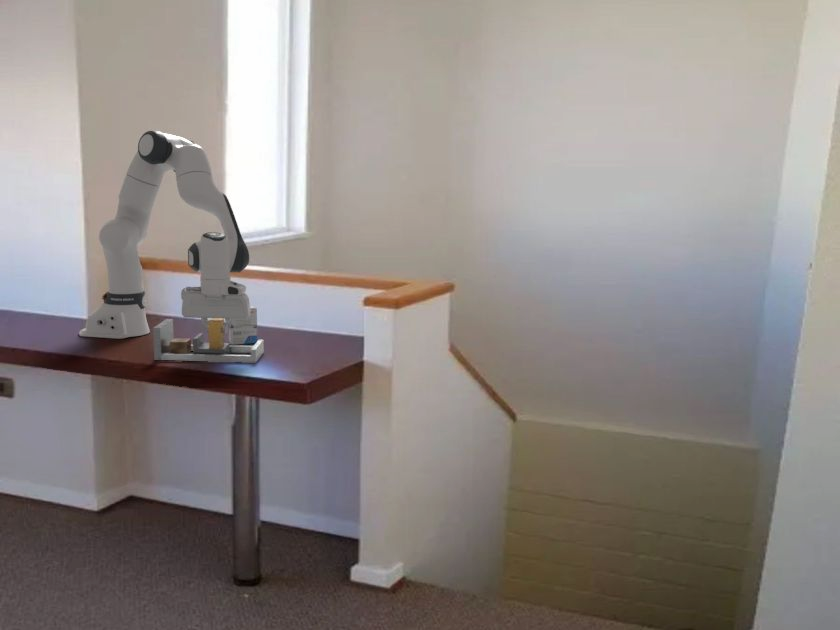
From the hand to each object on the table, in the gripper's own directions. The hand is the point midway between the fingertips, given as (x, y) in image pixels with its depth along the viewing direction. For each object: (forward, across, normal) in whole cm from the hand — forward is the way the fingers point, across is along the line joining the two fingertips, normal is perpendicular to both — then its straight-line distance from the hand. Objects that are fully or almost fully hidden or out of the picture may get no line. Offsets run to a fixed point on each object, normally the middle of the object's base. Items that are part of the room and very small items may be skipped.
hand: (216, 332), depth 270 cm
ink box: (+8, +4, +20) cm, 22 cm away
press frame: (+8, -2, 0) cm, 8 cm away
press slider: (+8, -1, 0) cm, 8 cm away
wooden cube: (+8, -11, 0) cm, 13 cm away
